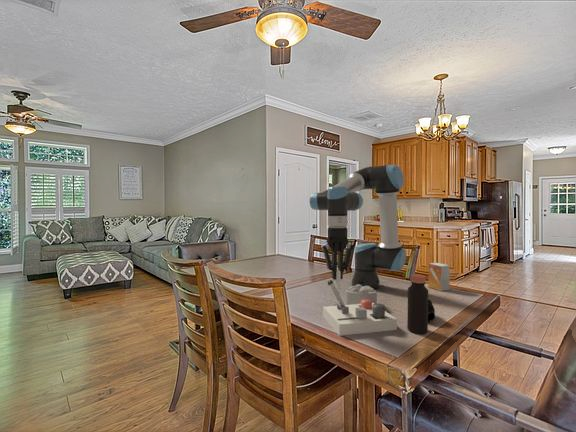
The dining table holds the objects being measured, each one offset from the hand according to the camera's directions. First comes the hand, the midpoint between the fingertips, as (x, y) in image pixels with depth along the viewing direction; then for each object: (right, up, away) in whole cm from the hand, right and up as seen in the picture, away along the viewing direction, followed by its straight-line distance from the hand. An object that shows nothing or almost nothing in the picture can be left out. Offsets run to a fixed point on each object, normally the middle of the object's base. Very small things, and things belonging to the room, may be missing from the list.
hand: (337, 287), depth 118 cm
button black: (+15, -11, -5) cm, 19 cm away
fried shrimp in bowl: (+35, -13, +7) cm, 38 cm away
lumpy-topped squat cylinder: (+13, -13, +18) cm, 26 cm away
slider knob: (+8, -9, -6) cm, 14 cm away
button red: (+13, -12, +5) cm, 18 cm away
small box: (+61, -11, +44) cm, 76 cm away
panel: (+8, -13, -1) cm, 15 cm away
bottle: (+28, -14, -8) cm, 32 cm away
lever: (+2, -8, +1) cm, 8 cm away
